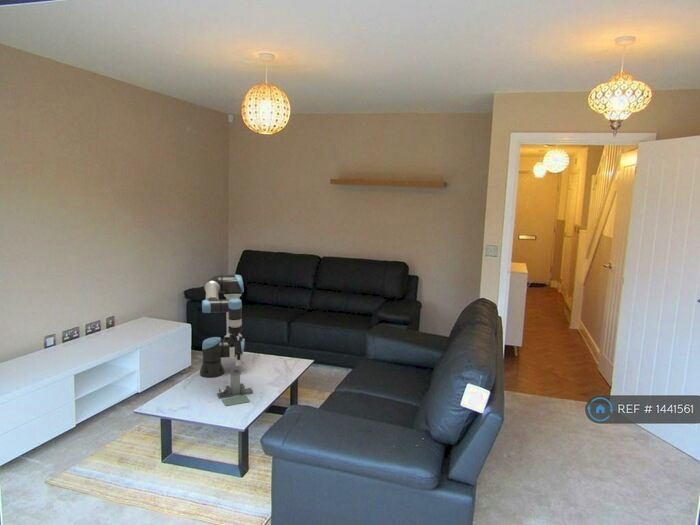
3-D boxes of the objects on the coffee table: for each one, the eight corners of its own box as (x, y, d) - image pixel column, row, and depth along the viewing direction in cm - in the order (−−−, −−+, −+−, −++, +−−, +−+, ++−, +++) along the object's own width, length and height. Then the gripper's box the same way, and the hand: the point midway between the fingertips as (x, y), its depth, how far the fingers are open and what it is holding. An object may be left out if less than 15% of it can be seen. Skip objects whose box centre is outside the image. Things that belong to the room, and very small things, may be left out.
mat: (221, 400, 281) (221, 399, 281) (245, 395, 288) (245, 395, 288) (225, 406, 274) (225, 405, 274) (250, 402, 280) (250, 401, 280)
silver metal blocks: (217, 395, 287) (217, 386, 286) (250, 390, 296) (250, 381, 296) (219, 399, 283) (219, 389, 282) (253, 393, 292) (253, 384, 291)
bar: (229, 393, 291) (229, 370, 289) (238, 392, 293) (238, 369, 291) (231, 396, 286) (231, 373, 284) (240, 395, 289) (240, 372, 286)
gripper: (223, 321, 293) (223, 355, 295) (234, 332, 271) (234, 369, 274) (235, 320, 296) (235, 354, 299) (247, 330, 274) (247, 367, 277)
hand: (235, 361), depth 286 cm, fingers open, 13 cm apart
